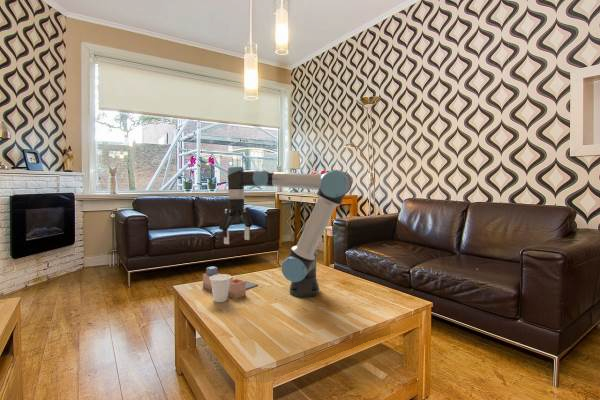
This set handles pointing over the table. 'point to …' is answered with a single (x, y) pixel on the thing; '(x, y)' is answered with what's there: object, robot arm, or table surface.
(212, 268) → the blue rectangular block
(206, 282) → the pot
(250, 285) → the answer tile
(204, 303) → the table surface
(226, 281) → the cup
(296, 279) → the robot arm
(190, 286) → the table surface
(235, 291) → the pot
